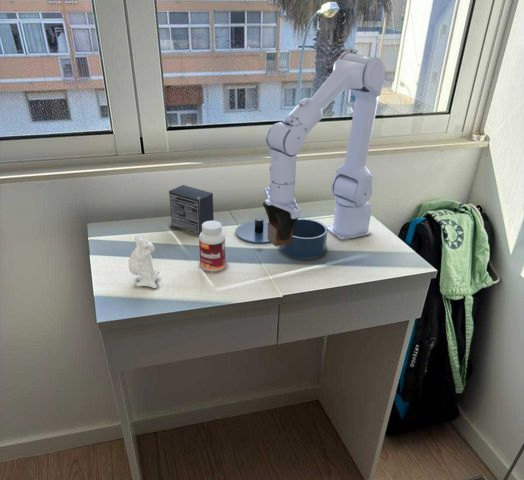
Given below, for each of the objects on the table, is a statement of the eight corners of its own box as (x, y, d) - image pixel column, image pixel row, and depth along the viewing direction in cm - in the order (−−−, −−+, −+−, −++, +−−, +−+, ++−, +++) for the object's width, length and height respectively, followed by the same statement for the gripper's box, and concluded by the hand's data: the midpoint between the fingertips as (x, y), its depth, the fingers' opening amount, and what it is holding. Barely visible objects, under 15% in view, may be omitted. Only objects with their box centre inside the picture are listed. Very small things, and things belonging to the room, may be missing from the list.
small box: (215, 228, 144) (214, 192, 137) (201, 237, 139) (199, 200, 133) (185, 219, 148) (183, 183, 141) (170, 227, 144) (167, 190, 137)
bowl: (310, 236, 142) (312, 215, 138) (333, 254, 134) (336, 233, 130) (273, 243, 138) (274, 223, 134) (294, 263, 130) (296, 242, 126)
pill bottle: (197, 271, 125) (195, 229, 118) (203, 259, 130) (201, 218, 123) (223, 273, 125) (222, 231, 118) (227, 261, 129) (227, 220, 123)
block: (283, 235, 129) (284, 218, 126) (292, 243, 126) (293, 226, 123) (267, 238, 128) (267, 221, 125) (275, 246, 125) (276, 229, 122)
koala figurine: (165, 288, 118) (160, 241, 111) (136, 294, 116) (129, 246, 109) (156, 271, 124) (151, 225, 117) (128, 276, 122) (121, 229, 115)
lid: (269, 222, 148) (269, 206, 145) (290, 240, 139) (291, 224, 136) (228, 229, 143) (228, 213, 141) (247, 249, 135) (248, 232, 132)
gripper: (253, 171, 121) (252, 225, 130) (282, 194, 111) (279, 250, 119) (279, 167, 124) (277, 220, 132) (310, 189, 114) (305, 245, 122)
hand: (279, 234), depth 126 cm, fingers closed on block, 4 cm apart
